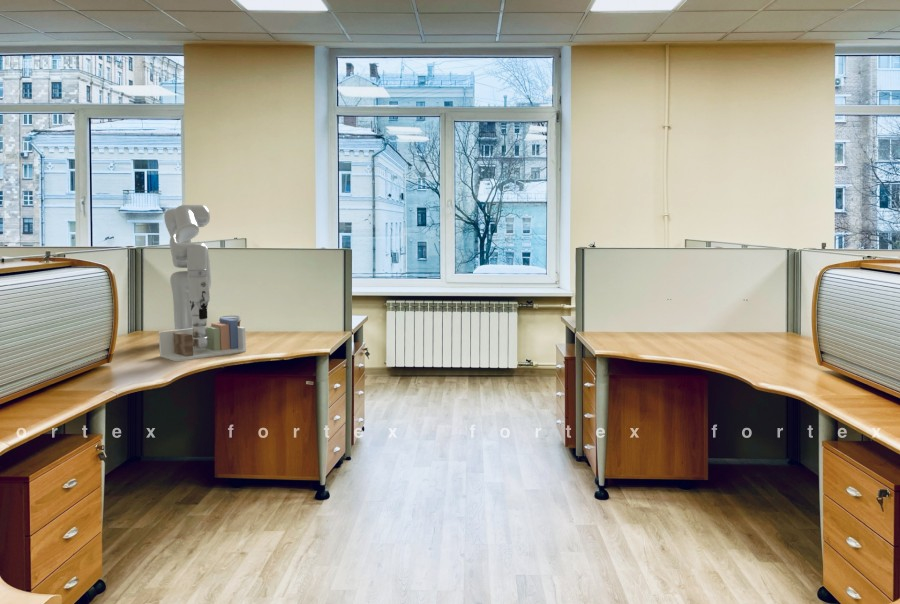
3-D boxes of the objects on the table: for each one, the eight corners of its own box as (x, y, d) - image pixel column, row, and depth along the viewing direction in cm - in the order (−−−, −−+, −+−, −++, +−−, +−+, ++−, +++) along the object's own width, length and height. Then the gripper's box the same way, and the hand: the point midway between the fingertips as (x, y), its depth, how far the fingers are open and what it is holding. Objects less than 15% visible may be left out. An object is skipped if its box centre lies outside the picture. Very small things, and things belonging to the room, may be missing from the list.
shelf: (159, 356, 288) (158, 324, 286) (229, 347, 308) (227, 317, 307) (175, 361, 277) (173, 328, 275) (245, 351, 298) (244, 320, 296)
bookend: (174, 352, 289) (173, 332, 288) (181, 351, 291) (180, 332, 291) (185, 355, 282) (184, 336, 281) (193, 354, 284) (192, 335, 283)
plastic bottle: (202, 346, 295) (200, 298, 293) (212, 347, 292) (210, 299, 289) (188, 348, 290) (186, 300, 288) (198, 350, 286) (196, 301, 284)
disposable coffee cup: (235, 345, 312) (234, 318, 311) (215, 344, 314) (214, 318, 312) (245, 341, 321) (245, 315, 320) (226, 341, 323) (225, 315, 322)
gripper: (216, 274, 284) (217, 319, 286) (197, 272, 296) (198, 315, 298) (197, 275, 279) (199, 321, 281) (179, 273, 291) (181, 316, 293)
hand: (199, 317), depth 289 cm, fingers closed on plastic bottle, 6 cm apart
